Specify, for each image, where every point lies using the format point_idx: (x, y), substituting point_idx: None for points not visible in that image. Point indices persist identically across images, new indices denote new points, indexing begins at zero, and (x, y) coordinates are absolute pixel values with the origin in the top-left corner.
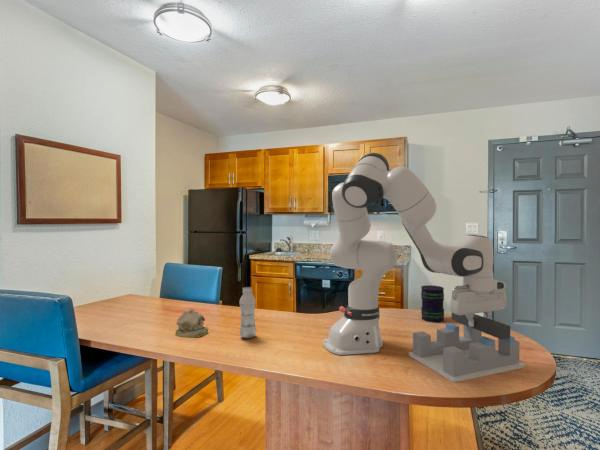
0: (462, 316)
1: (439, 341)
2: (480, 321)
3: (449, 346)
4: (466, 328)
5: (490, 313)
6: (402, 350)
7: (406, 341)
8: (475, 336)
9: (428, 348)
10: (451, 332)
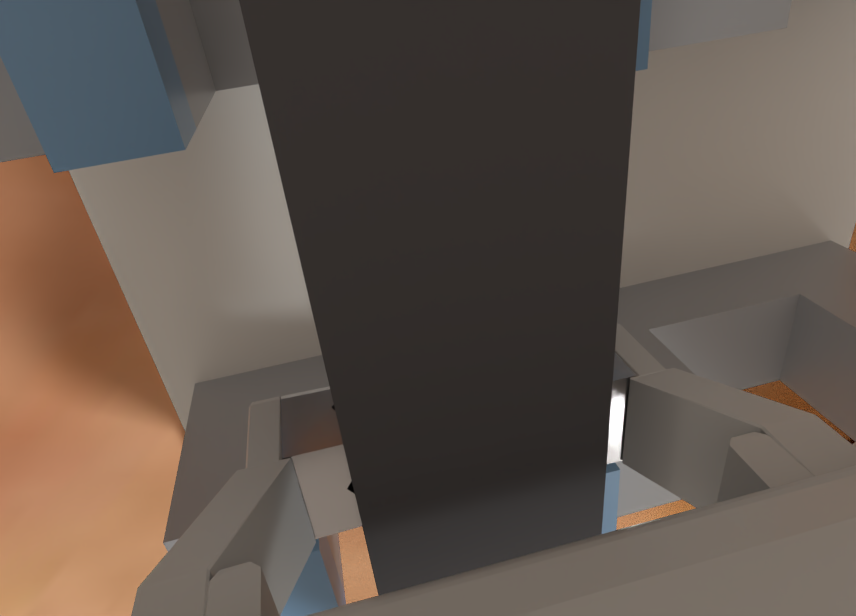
0: None
1: None
2: (597, 311)
3: None
4: (334, 546)
5: (154, 611)
6: (777, 397)
7: (647, 518)
8: None
9: (817, 283)
10: None
